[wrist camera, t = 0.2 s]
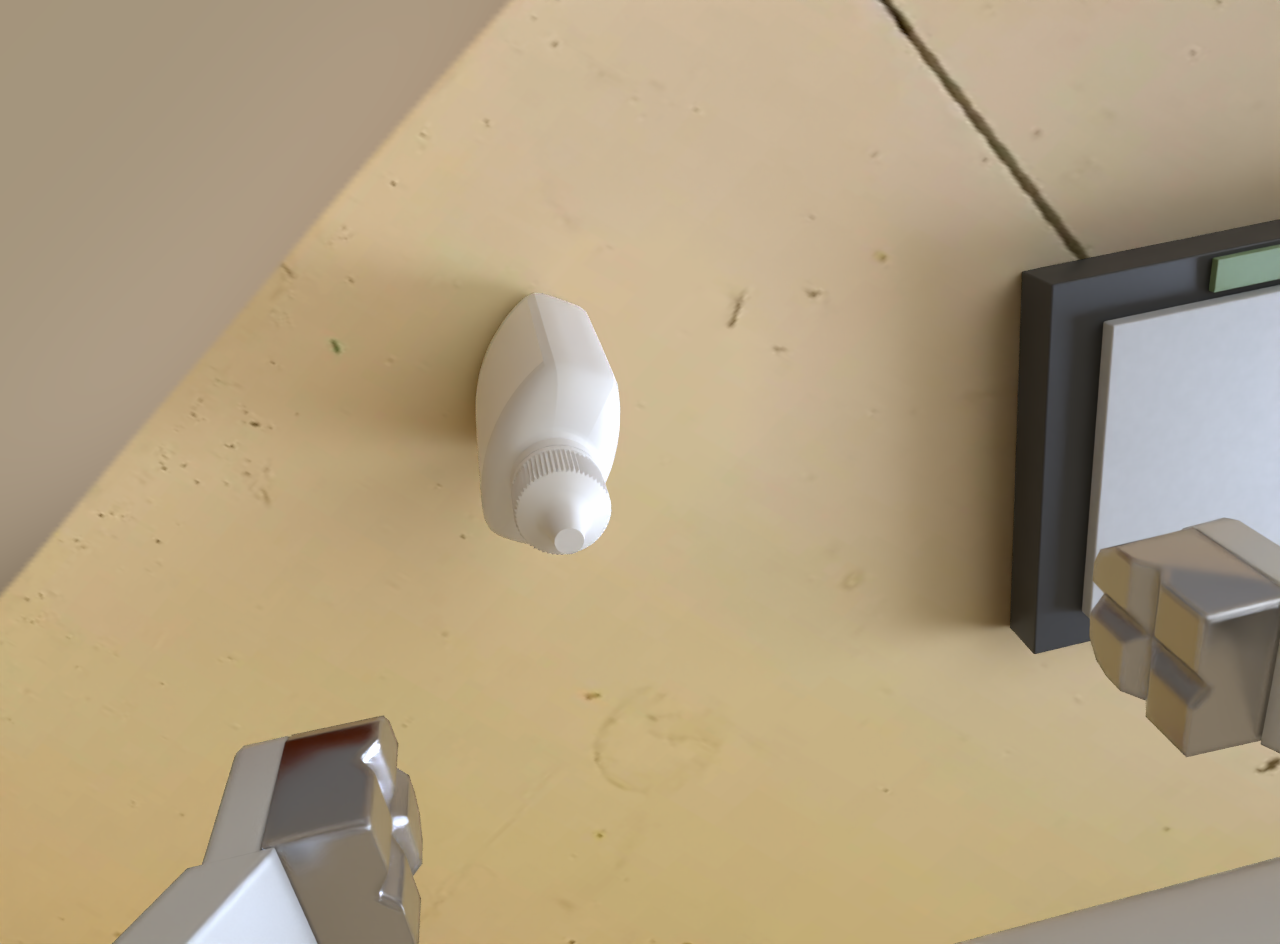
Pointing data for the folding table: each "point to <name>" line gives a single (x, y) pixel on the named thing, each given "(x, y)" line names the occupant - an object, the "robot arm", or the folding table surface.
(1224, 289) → the scale
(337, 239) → the folding table surface
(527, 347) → the eye dropper bottle
